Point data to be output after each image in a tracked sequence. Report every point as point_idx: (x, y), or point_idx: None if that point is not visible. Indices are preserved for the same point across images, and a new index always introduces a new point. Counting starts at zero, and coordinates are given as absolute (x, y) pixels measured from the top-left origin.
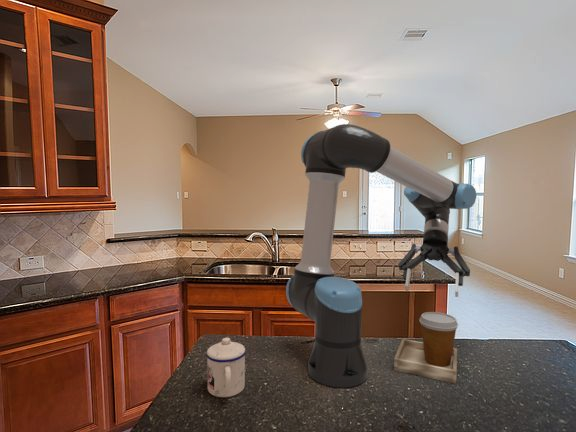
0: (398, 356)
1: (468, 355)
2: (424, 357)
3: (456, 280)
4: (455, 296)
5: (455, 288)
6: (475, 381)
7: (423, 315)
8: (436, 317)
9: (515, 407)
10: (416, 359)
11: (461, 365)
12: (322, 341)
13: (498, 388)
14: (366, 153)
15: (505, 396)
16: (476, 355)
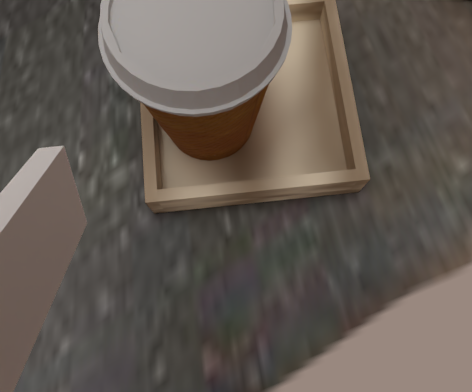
0: (327, 17)
1: (115, 276)
2: (257, 125)
3: (4, 211)
4: (84, 221)
5: (51, 160)
6: (93, 81)
7: (274, 16)
8: (204, 23)
9: (4, 3)
10: (278, 94)
11: (136, 168)
12: None
13: (33, 75)
14: None
15: (20, 42)
16: (85, 295)
